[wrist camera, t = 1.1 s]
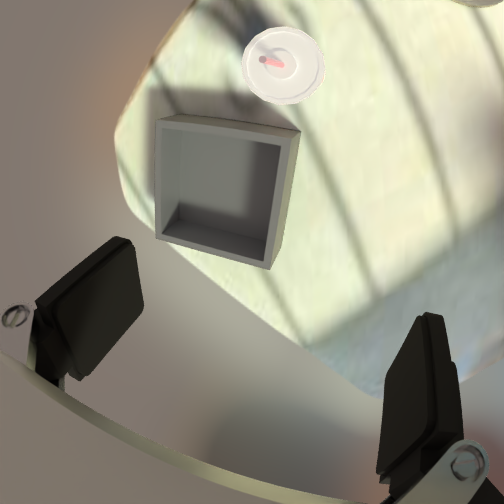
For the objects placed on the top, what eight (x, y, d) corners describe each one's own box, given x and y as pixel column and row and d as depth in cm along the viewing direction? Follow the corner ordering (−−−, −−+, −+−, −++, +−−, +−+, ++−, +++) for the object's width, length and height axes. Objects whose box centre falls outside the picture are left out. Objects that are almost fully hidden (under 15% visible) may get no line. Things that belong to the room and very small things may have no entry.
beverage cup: (330, 104, 28) (312, 115, 17) (269, 97, 30) (211, 106, 18) (335, 46, 25) (319, 14, 14) (273, 40, 27) (215, 13, 15)
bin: (180, 114, 33) (155, 119, 29) (301, 131, 31) (291, 138, 26) (176, 221, 40) (155, 238, 36) (280, 247, 38) (269, 270, 34)
